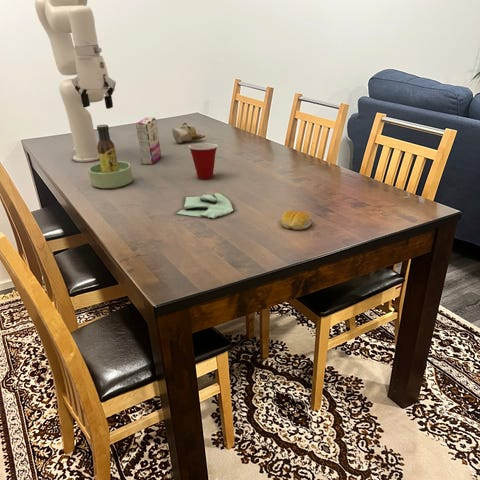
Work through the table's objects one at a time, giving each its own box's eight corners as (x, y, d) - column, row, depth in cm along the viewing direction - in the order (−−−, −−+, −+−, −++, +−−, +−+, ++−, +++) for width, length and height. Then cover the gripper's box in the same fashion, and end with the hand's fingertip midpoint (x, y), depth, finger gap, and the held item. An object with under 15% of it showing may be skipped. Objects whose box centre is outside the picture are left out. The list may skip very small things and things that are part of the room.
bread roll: (288, 217, 147) (288, 205, 145) (314, 222, 143) (315, 210, 141) (275, 227, 142) (275, 214, 140) (302, 232, 138) (302, 219, 135)
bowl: (83, 184, 181) (80, 168, 178) (117, 174, 191) (114, 159, 187) (107, 192, 173) (104, 176, 169) (141, 181, 182) (138, 165, 178)
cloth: (216, 222, 146) (216, 214, 145) (161, 210, 156) (160, 203, 155) (250, 200, 160) (250, 193, 159) (198, 191, 170) (197, 184, 169)
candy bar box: (150, 156, 210) (145, 117, 200) (161, 157, 209) (156, 117, 199) (141, 164, 201) (135, 123, 191) (152, 164, 200) (146, 123, 190)
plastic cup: (223, 173, 186) (221, 141, 179) (213, 182, 178) (211, 149, 171) (198, 171, 189) (195, 140, 183) (186, 180, 181) (183, 147, 174)
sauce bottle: (115, 184, 178) (104, 128, 167) (100, 183, 180) (89, 127, 168) (123, 178, 183) (114, 123, 172) (109, 177, 185) (98, 123, 173)
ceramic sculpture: (166, 122, 225) (194, 119, 232) (168, 141, 230) (195, 138, 237) (177, 126, 218) (205, 123, 225) (178, 146, 222) (206, 142, 229)
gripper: (116, 50, 157) (125, 106, 167) (73, 50, 163) (84, 104, 173) (102, 53, 152) (112, 111, 162) (59, 52, 157) (71, 108, 167)
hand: (98, 107), depth 167 cm, fingers open, 9 cm apart
